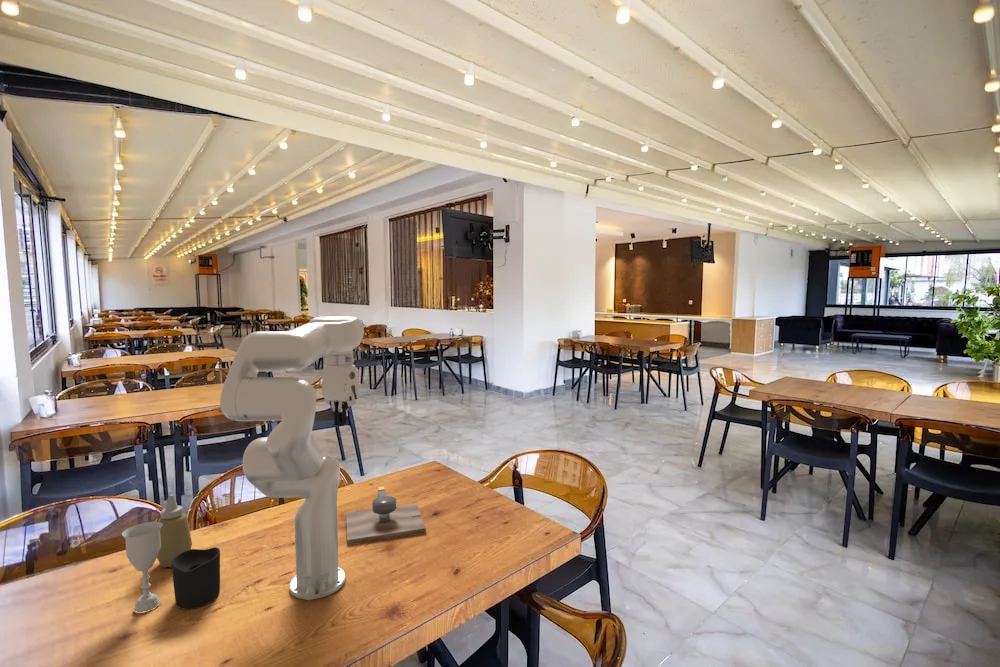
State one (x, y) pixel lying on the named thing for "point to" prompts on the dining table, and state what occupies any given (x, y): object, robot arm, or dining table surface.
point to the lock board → (383, 524)
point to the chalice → (144, 557)
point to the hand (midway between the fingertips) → (340, 424)
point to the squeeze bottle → (173, 532)
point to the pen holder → (196, 577)
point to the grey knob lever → (383, 503)
